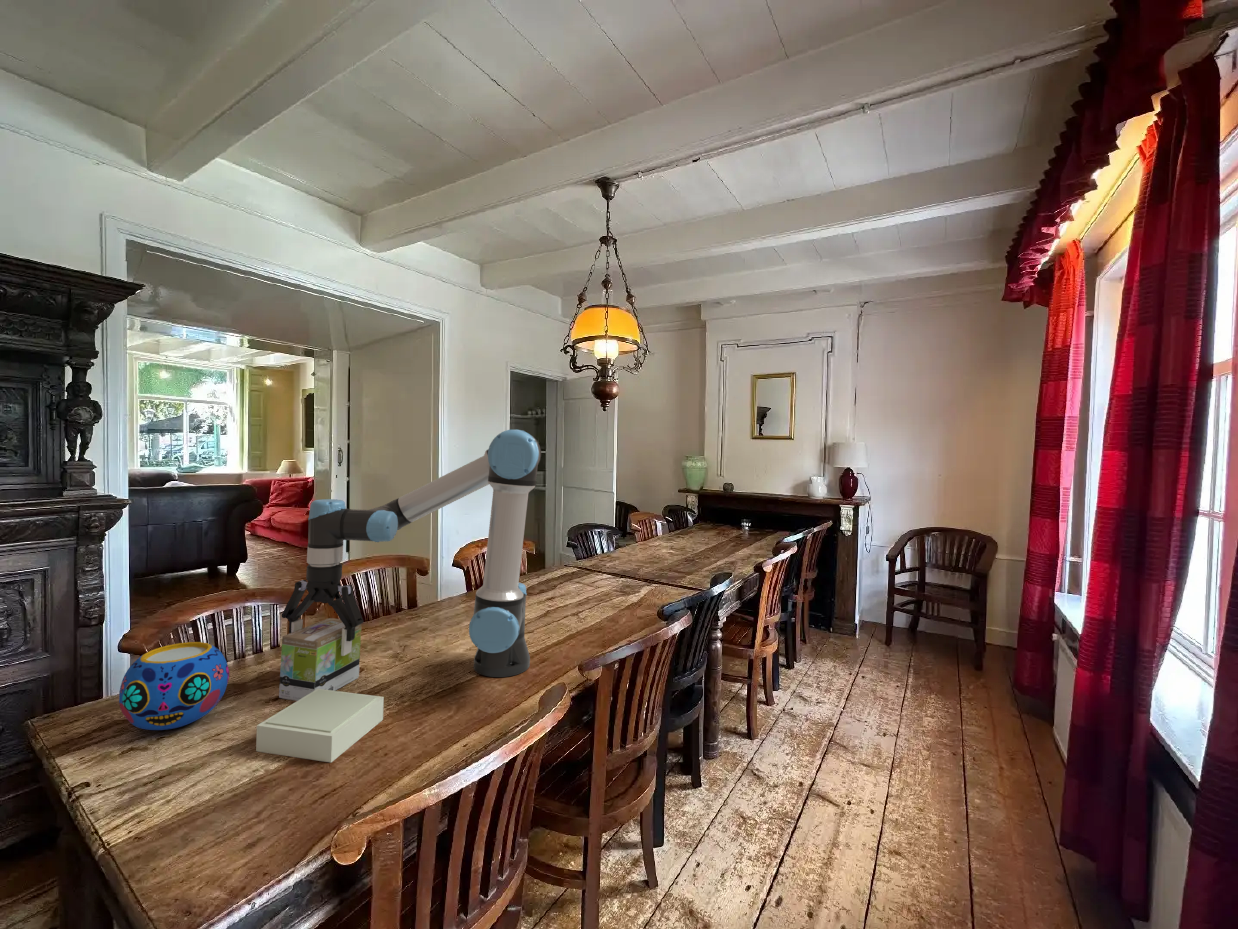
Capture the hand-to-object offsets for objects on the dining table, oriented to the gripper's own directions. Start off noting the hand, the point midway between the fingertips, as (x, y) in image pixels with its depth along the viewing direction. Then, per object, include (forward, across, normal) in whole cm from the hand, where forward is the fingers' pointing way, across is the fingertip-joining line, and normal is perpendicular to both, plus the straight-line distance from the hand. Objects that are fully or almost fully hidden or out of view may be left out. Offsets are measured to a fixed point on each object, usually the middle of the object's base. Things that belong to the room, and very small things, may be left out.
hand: (320, 650), depth 126 cm
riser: (+9, -16, +18) cm, 25 cm away
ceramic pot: (+10, +16, +21) cm, 28 cm away
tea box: (+9, 0, 0) cm, 9 cm away
